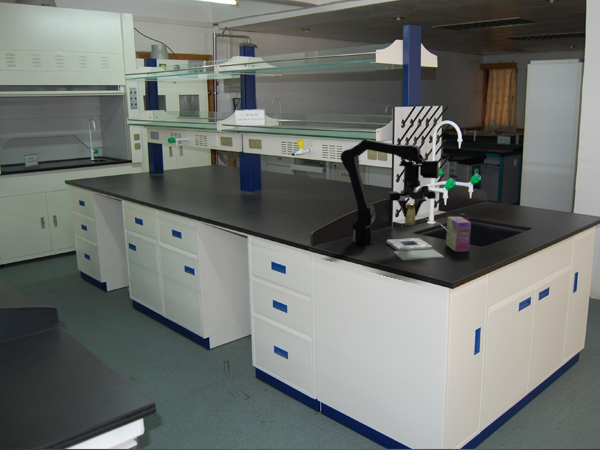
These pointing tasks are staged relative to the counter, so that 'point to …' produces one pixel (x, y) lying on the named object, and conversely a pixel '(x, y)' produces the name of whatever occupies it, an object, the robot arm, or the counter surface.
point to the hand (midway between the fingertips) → (410, 216)
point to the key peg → (410, 214)
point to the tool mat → (418, 254)
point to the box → (458, 234)
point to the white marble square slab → (408, 244)
